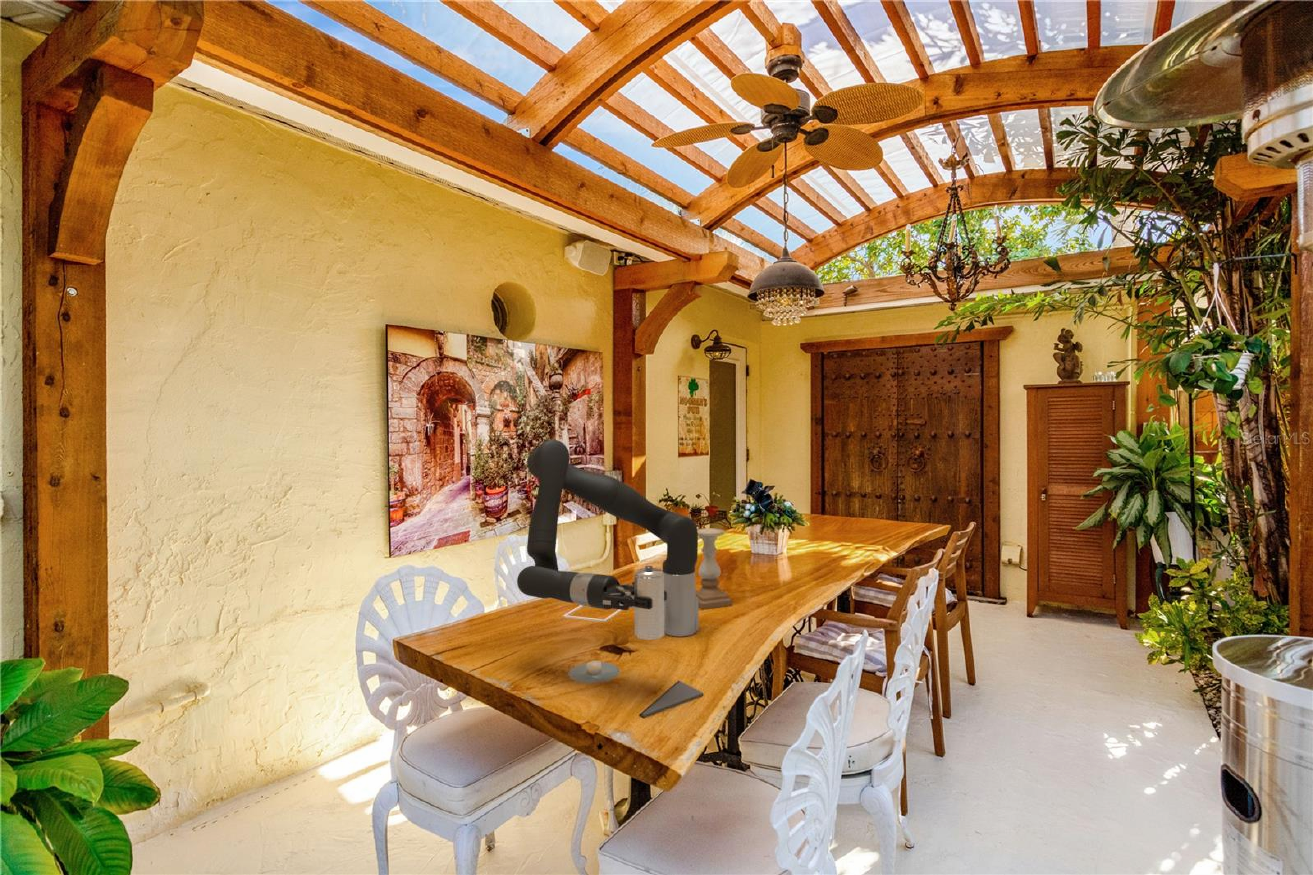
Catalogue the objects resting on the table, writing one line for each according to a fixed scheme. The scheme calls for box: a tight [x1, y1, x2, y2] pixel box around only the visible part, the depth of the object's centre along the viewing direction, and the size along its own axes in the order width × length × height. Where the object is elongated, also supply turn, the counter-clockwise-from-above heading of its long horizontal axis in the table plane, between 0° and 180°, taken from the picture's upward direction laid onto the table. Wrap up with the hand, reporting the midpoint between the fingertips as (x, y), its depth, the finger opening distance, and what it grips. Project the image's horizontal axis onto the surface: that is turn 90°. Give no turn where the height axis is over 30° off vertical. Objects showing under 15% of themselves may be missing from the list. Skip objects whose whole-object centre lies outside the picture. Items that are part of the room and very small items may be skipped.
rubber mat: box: [638, 680, 704, 719], centre depth 134 cm, size 16×16×1 cm
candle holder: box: [695, 527, 733, 610], centre depth 200 cm, size 11×11×24 cm
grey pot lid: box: [567, 660, 621, 684], centre depth 143 cm, size 12×12×3 cm
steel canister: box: [633, 565, 665, 641], centre depth 133 cm, size 6×6×15 cm
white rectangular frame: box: [562, 605, 623, 623], centre depth 194 cm, size 15×1×18 cm
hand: (658, 599), depth 132 cm, fingers closed on steel canister, 6 cm apart
